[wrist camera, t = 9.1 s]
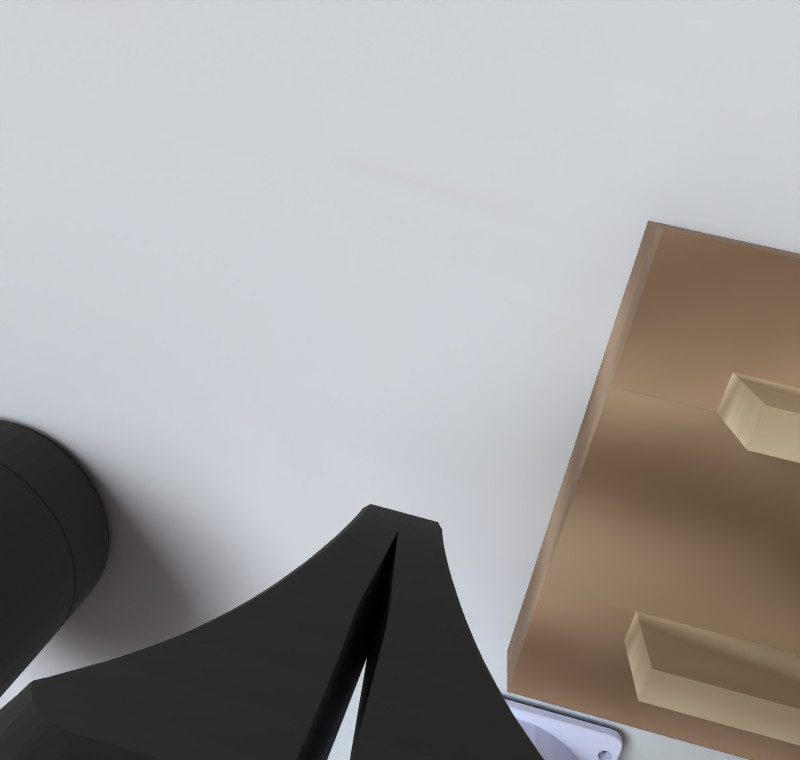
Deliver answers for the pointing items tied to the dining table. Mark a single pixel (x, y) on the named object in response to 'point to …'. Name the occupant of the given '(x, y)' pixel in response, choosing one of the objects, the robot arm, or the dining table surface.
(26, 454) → the pen holder
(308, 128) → the dining table surface
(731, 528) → the deck
